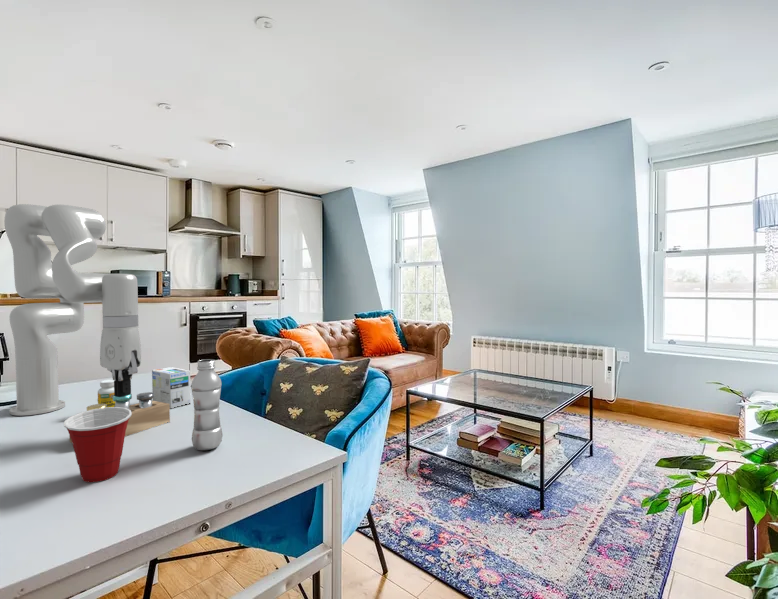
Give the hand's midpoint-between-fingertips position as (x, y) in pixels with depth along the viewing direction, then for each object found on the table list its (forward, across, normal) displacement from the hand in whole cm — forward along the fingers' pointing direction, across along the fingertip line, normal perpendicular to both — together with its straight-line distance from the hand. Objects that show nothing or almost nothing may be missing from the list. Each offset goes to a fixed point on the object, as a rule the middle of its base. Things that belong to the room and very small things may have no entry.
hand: (122, 395), depth 104 cm
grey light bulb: (+9, 0, +6) cm, 11 cm away
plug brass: (+9, 0, -6) cm, 11 cm away
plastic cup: (+10, +21, -17) cm, 29 cm away
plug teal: (+7, 0, 0) cm, 8 cm away
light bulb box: (+10, -12, +22) cm, 26 cm away
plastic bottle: (+10, +28, +2) cm, 30 cm away
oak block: (+9, 0, 0) cm, 9 cm away
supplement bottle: (+9, -18, +7) cm, 22 cm away
